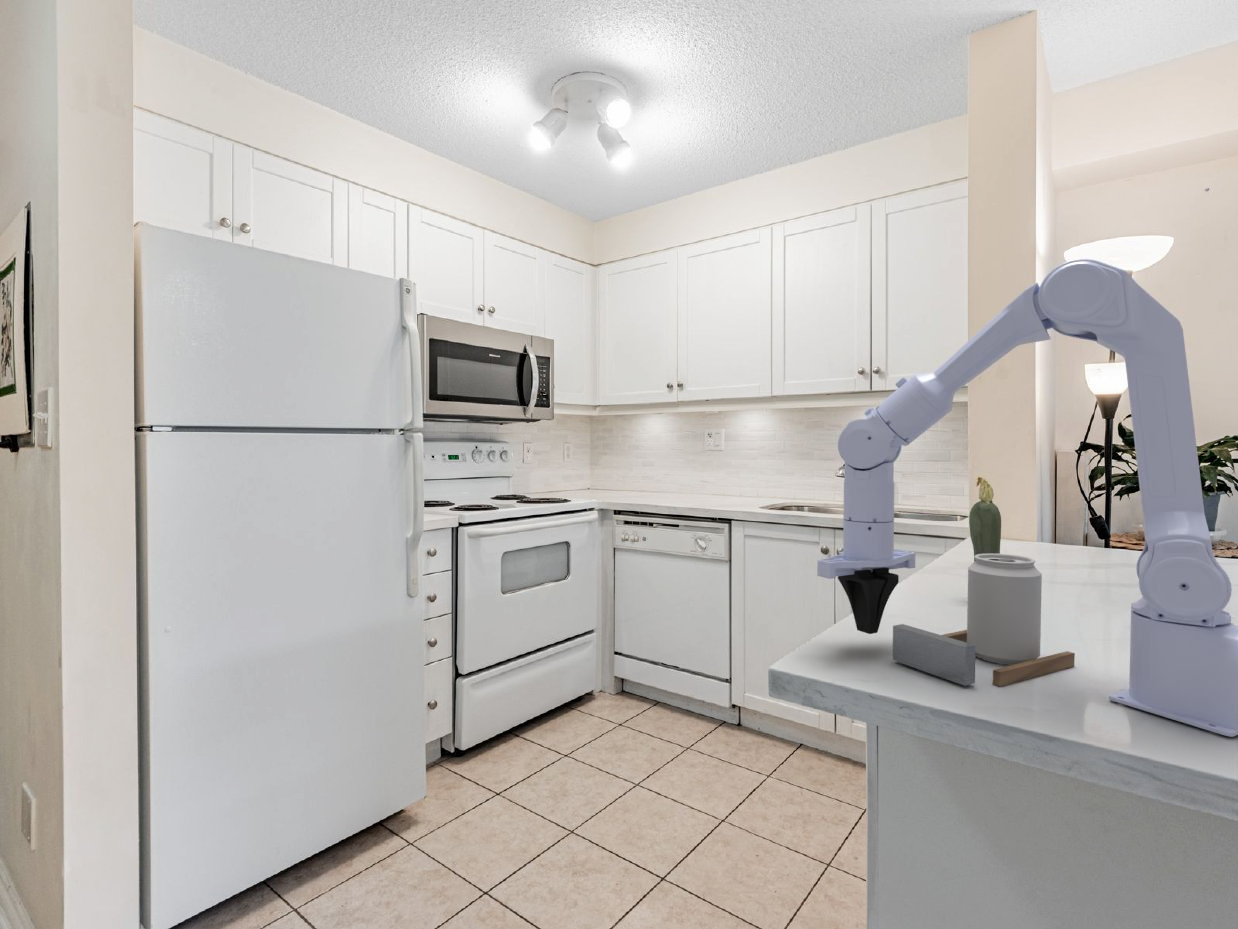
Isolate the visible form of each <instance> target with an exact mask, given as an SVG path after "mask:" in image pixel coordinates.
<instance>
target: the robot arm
mask: <svg viewBox="0 0 1238 929" xmlns="http://www.w3.org/2000/svg"><path fill="white" fill-rule="evenodd" d="M1050 329H1053V330H1054V331H1055V332H1057V333H1058V334H1061V335H1062V336H1067V337H1070V338H1071V337H1072V338H1074V339H1075V338H1076V339H1079V340H1080V339H1082V340H1088V341H1092V342H1093V341H1094V342H1097V344H1098V345H1101V346H1102V347H1104V348H1106V349H1108V350H1109V351H1112V352H1114V353H1115V354H1118V355H1120V356H1122V358H1124V361H1125V362H1124V363H1125V371H1126V380H1127V388H1128V398H1129V404H1130V405H1129V406H1130V414H1131V423H1132V432H1133V433H1132V434H1133V441H1134V448H1135V458H1136V459H1135V460H1136V466H1137V468H1136V469H1137V476H1138V484H1139V486H1138V487H1139V493H1140V502H1141V510H1142V522H1143V524H1142V525H1143V532H1144V533H1143V534H1144V546H1143V548H1142V551H1141V553H1140V555H1139V557H1138V559H1137V562H1136V574H1137V578H1138V586H1139V590H1140V594H1141V595H1142V597H1141V598H1140V599H1138V600H1137V601H1134V602H1132V603H1131V604H1130V605H1131V606H1130V640H1129V641H1130V642H1129V679H1128V680H1129V681H1128V684H1129V685H1128V688H1127V689H1123V690H1120V691H1117V692H1114V693H1110V694H1109V695H1108V699H1109V700H1110V701H1112V702H1115V703H1119V704H1121V705H1125V706H1129V707H1131V708H1133V709H1134V708H1135V709H1137V710H1140V711H1144V712H1147V713H1151V714H1154V715H1157V716H1161V717H1164V718H1167V719H1170V720H1174V721H1177V722H1179V723H1183V724H1186V725H1190V726H1193V727H1196V728H1199V729H1203V730H1205V731H1208V732H1209V731H1210V732H1211V733H1212V732H1213V733H1214V734H1218V735H1222V736H1226V737H1231V738H1233V737H1235V736H1238V625H1236V624H1234V623H1233V622H1232V615H1230V613H1229V612H1228V611H1227V610H1224V609H1225V608H1227V605H1228V604H1229V602H1230V600H1231V596H1232V592H1233V589H1232V583H1231V580H1230V577H1229V575H1228V574H1227V571H1226V570H1225V569H1224V568H1223V567H1222V565H1220V563H1219V562H1218V561H1217V559H1216V556H1215V555H1214V551H1213V546H1212V545H1213V544H1212V538H1211V534H1210V531H1209V526H1208V523H1207V519H1206V518H1207V517H1206V515H1205V506H1204V498H1203V497H1204V496H1203V489H1202V480H1201V473H1200V472H1201V471H1200V465H1199V457H1198V456H1199V455H1198V446H1197V438H1196V430H1195V420H1194V413H1193V405H1192V395H1191V388H1190V379H1189V371H1188V370H1189V368H1188V363H1187V352H1186V345H1185V336H1184V329H1183V326H1182V324H1181V321H1180V320H1179V319H1178V318H1177V317H1176V316H1175V315H1174V314H1173V313H1172V312H1170V311H1169V310H1168V309H1167V308H1166V307H1165V306H1163V305H1162V304H1161V303H1160V302H1159V301H1158V300H1157V299H1155V298H1154V297H1153V296H1152V295H1151V294H1150V293H1149V292H1147V290H1145V289H1144V288H1142V286H1141V285H1139V283H1137V281H1136V280H1135V279H1134V278H1133V277H1132V276H1131V275H1130V273H1128V271H1126V270H1125V269H1122V268H1119V267H1116V266H1114V265H1111V264H1108V263H1105V262H1103V261H1101V260H1100V261H1099V260H1096V259H1092V258H1077V259H1072V260H1068V261H1066V262H1064V263H1061V264H1060V265H1057V266H1056V267H1055V268H1053V269H1051V271H1050V272H1048V273H1047V275H1046V276H1045V277H1044V278H1043V280H1042V282H1041V284H1040V285H1039V283H1038V282H1035V283H1033V285H1031V286H1029V287H1027V288H1026V289H1024V290H1023V291H1022V292H1020V293H1019V295H1017V297H1015V299H1013V300H1012V301H1011V302H1010V303H1008V305H1007V306H1005V307H1004V308H1003V309H1002V310H1001V311H1000V312H999V313H997V314H996V315H995V316H994V317H993V318H992V319H991V320H990V321H988V323H987V324H985V325H984V326H983V327H982V328H981V329H980V330H979V331H978V332H977V333H976V334H975V335H973V336H972V337H971V338H970V339H969V340H968V341H966V342H965V344H964V345H963V346H961V347H960V348H959V349H958V350H957V351H956V352H955V353H953V354H952V356H951V357H949V358H948V359H947V360H946V361H945V362H944V363H942V365H941V366H939V367H938V368H937V369H936V370H935V371H934V372H931V373H923V372H922V373H919V372H918V373H915V374H913V375H912V376H911V377H909V378H908V377H905V376H903V377H901V378H900V379H899V380H897V381H896V383H895V387H897V389H895V391H893V392H892V393H891V394H890V395H889V396H887V397H886V398H885V399H884V400H883V401H881V403H879V404H878V405H877V406H876V407H875V408H874V407H869V408H867V410H865V411H864V415H865V416H866V418H858V419H854V420H851V421H849V422H848V423H847V424H846V427H845V428H844V429H843V430H842V431H841V432H840V434H839V437H838V441H837V449H838V452H839V453H838V454H839V455H840V458H841V459H842V461H844V475H843V477H844V480H843V518H842V519H843V528H842V529H843V530H842V531H843V533H842V534H843V537H842V538H843V540H842V542H843V543H842V545H843V548H842V550H843V551H838V555H837V554H836V555H834V556H830V557H827V558H822V559H817V567H816V568H817V570H816V571H817V572H816V573H817V574H816V575H817V576H818V577H821V578H823V579H824V578H825V579H829V580H831V579H832V580H833V579H836V577H837V579H838V581H839V582H840V584H841V586H842V588H843V590H844V592H845V594H846V596H847V599H848V601H849V604H850V606H851V610H852V614H853V619H854V623H855V627H856V629H857V631H859V632H862V633H865V634H868V635H872V634H877V633H878V631H879V628H880V624H881V621H882V617H883V614H884V611H885V608H886V605H887V602H888V601H889V599H890V597H891V595H892V593H893V591H894V590H895V588H896V587H897V585H898V584H899V581H900V580H899V574H896V573H894V572H893V573H892V572H890V570H897V569H916V552H912V551H906V550H894V543H895V539H894V537H895V535H894V533H895V532H894V531H895V482H894V481H895V480H894V470H895V469H894V468H895V467H894V463H895V461H897V459H898V458H899V457H900V454H901V451H902V447H903V446H904V447H906V446H909V445H910V444H911V443H912V442H914V441H915V440H916V439H918V438H919V437H920V436H921V435H922V434H924V433H925V432H926V431H928V430H929V429H930V428H931V427H932V426H934V425H935V424H937V423H938V422H939V421H941V419H943V418H944V417H945V416H946V415H948V414H949V413H950V412H951V411H952V410H953V401H954V396H955V394H956V393H957V392H958V391H960V389H963V387H964V386H966V385H968V384H969V383H970V382H971V381H974V379H975V378H977V377H978V376H979V375H981V374H982V373H983V372H984V371H986V370H987V369H989V368H990V367H992V365H994V364H995V363H997V362H998V361H999V360H1001V359H1002V358H1003V357H1005V355H1007V354H1008V353H1010V352H1011V351H1012V350H1014V349H1015V348H1016V347H1018V346H1021V345H1026V344H1031V343H1032V344H1033V343H1037V342H1044V341H1049V340H1051V336H1050V334H1049V331H1048V330H1050Z"/></svg>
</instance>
